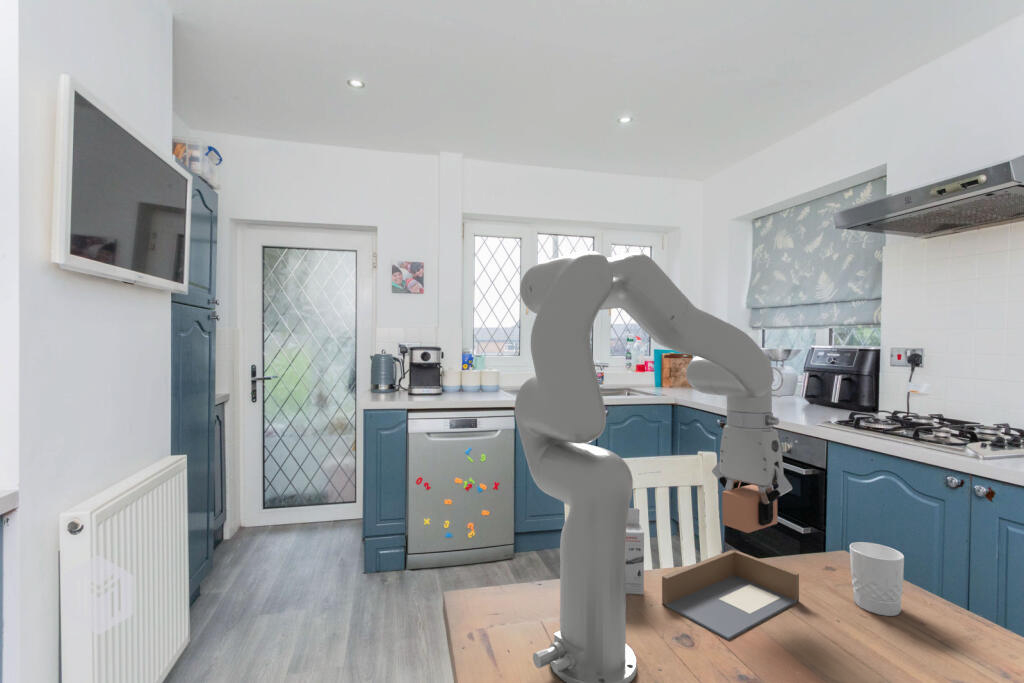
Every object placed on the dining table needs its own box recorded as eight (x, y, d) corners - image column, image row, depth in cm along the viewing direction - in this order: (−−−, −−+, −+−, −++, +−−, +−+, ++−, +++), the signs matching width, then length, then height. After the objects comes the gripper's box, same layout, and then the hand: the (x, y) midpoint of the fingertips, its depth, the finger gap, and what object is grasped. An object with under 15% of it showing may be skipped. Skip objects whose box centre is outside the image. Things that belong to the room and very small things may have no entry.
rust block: (777, 523, 89) (777, 490, 90) (747, 533, 85) (747, 498, 85) (752, 515, 94) (751, 484, 94) (722, 524, 89) (722, 491, 89)
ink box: (598, 593, 92) (598, 514, 92) (596, 580, 97) (596, 506, 97) (644, 595, 91) (644, 516, 91) (640, 582, 96) (640, 507, 96)
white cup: (915, 613, 85) (914, 555, 85) (886, 622, 82) (885, 563, 82) (867, 592, 92) (867, 539, 93) (839, 599, 89) (839, 545, 90)
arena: (728, 640, 77) (728, 608, 77) (662, 604, 88) (662, 576, 88) (799, 601, 89) (798, 573, 89) (733, 573, 100) (733, 549, 100)
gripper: (808, 424, 84) (809, 529, 84) (719, 413, 99) (720, 503, 98) (785, 428, 80) (786, 538, 80) (696, 416, 95) (697, 510, 94)
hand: (749, 518), depth 89 cm, fingers closed on rust block, 5 cm apart
